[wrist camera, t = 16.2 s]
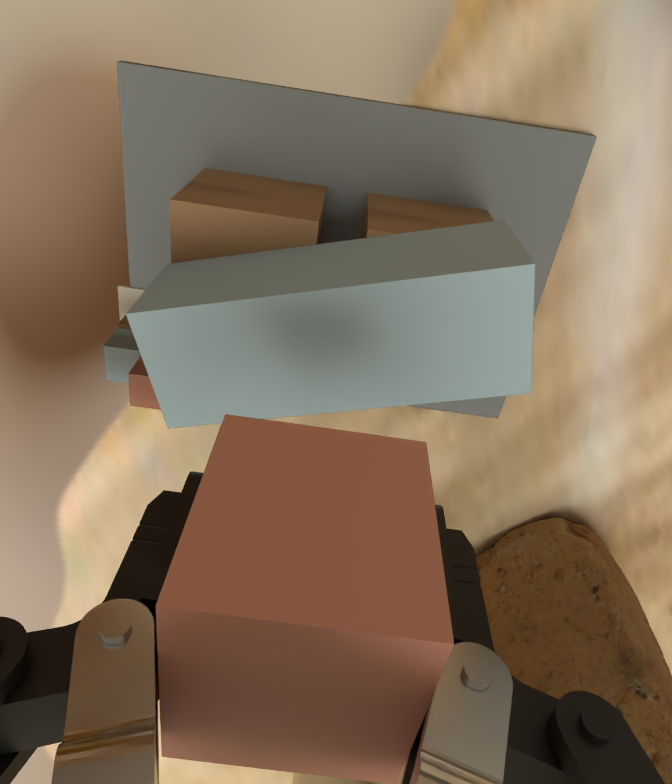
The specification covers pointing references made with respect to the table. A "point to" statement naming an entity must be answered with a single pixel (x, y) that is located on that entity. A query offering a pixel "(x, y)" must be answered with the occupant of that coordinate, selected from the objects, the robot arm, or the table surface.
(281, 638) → the terracotta cube
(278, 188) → the base cube
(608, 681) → the block
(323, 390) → the lintel
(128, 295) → the model
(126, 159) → the grey flat sheet
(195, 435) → the table surface
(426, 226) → the base cube
